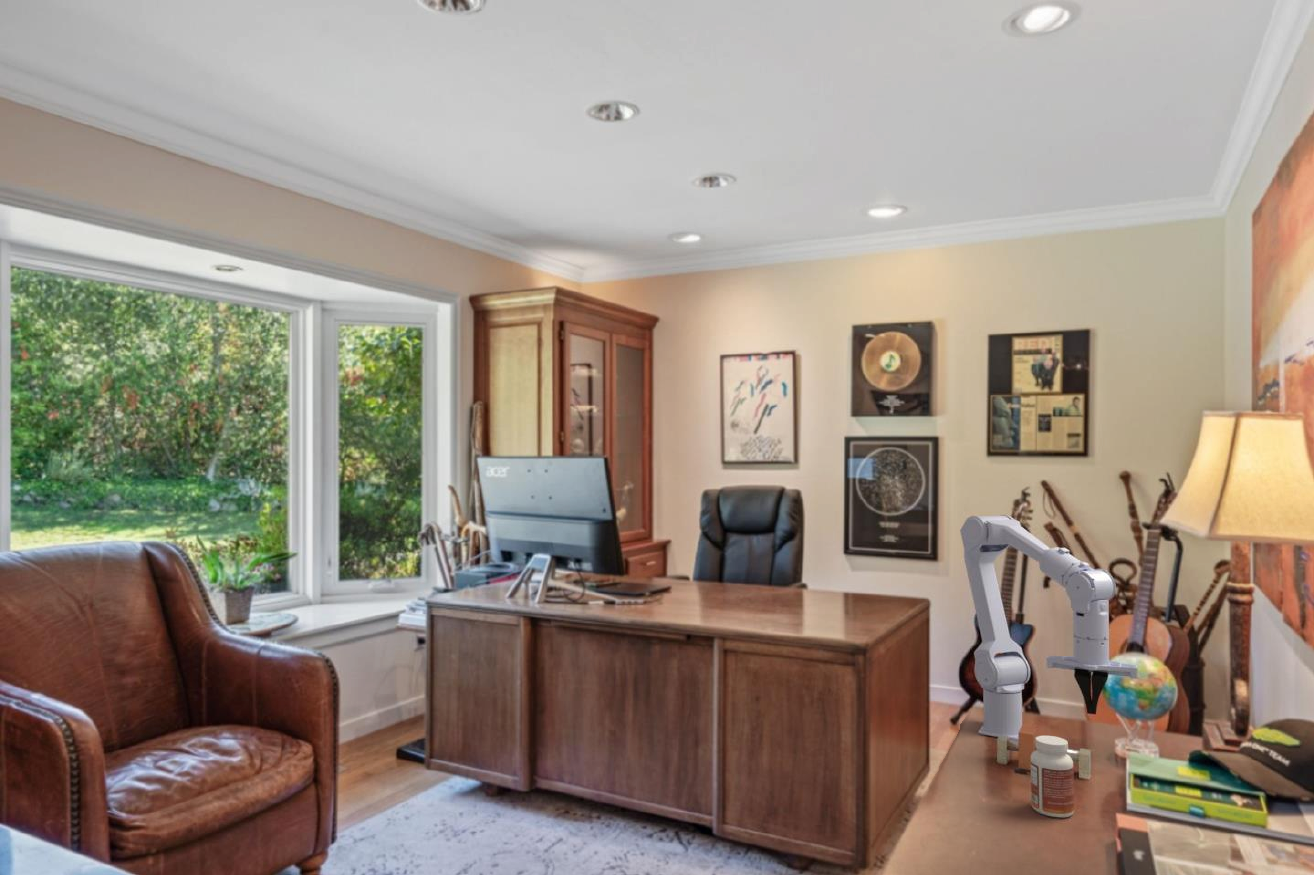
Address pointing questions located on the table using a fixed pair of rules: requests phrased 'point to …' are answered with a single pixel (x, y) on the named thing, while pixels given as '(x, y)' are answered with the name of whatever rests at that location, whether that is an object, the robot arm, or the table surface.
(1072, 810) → the pill bottle
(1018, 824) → the table surface
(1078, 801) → the table surface
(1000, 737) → the pipe rail
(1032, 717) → the table surface
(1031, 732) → the upright terracotta block
